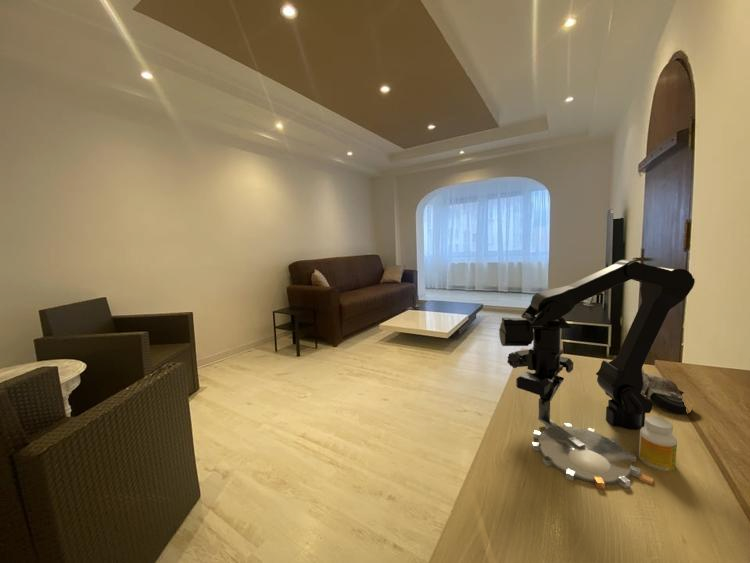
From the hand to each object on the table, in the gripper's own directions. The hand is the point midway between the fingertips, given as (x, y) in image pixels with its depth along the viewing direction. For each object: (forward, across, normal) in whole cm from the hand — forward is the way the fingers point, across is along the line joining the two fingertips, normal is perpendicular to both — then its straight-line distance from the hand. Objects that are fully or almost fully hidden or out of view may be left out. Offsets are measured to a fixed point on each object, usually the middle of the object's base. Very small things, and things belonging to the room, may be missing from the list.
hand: (545, 405), depth 77 cm
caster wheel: (+6, -31, +18) cm, 36 cm away
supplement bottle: (+5, 0, +21) cm, 21 cm away
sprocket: (+4, +7, +9) cm, 12 cm away
